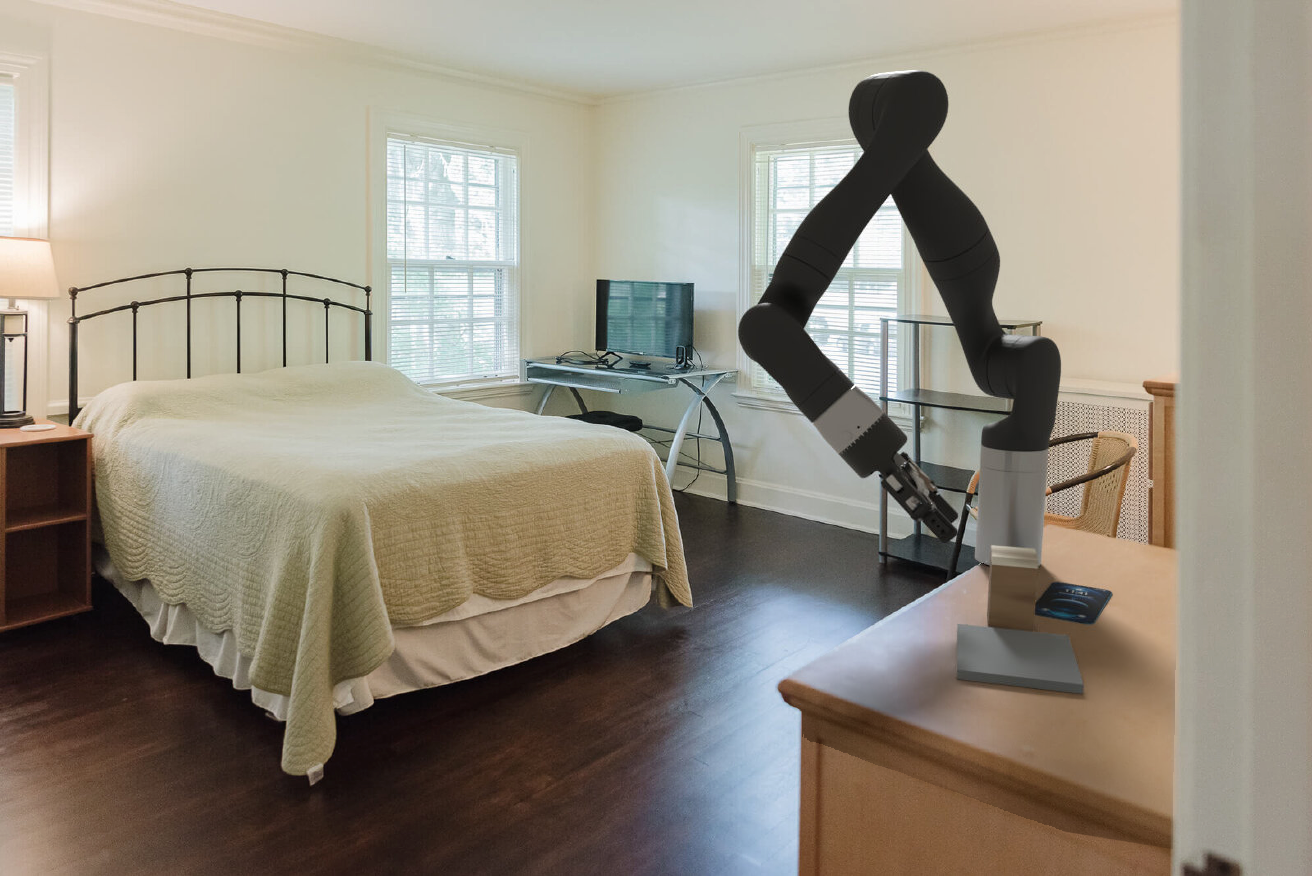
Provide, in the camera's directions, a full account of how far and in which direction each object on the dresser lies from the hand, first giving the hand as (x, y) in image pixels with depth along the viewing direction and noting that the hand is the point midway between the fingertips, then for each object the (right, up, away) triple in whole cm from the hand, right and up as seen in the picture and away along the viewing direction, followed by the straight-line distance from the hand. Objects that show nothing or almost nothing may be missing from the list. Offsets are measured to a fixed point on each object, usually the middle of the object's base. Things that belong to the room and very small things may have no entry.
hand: (952, 529), depth 113 cm
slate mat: (+3, -13, -11) cm, 18 cm away
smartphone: (+18, -11, +8) cm, 22 cm away
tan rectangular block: (+7, -11, 0) cm, 13 cm away
